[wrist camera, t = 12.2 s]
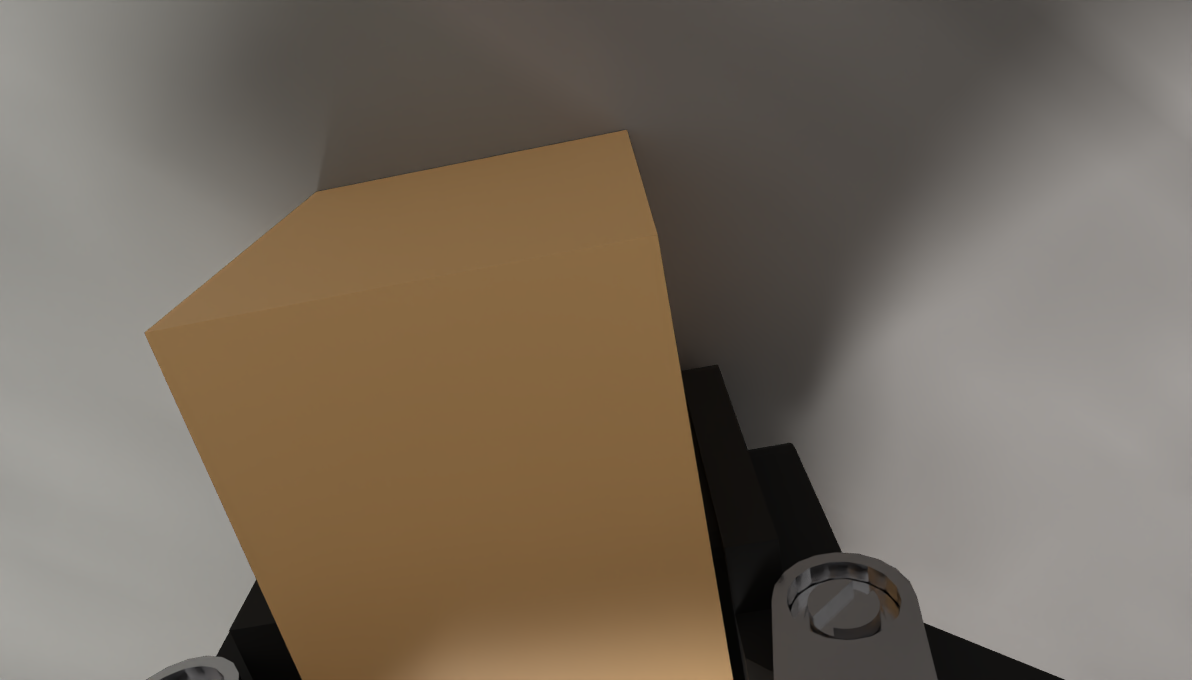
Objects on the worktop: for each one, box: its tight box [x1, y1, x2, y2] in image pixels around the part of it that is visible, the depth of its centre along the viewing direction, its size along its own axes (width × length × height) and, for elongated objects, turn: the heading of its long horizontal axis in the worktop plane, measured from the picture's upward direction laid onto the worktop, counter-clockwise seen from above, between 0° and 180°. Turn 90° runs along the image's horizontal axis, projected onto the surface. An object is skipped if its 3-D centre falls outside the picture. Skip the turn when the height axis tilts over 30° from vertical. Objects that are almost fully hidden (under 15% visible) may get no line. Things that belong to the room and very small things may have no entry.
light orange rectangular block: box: [145, 130, 733, 680], centre depth 10 cm, size 4×10×4 cm, turn 11°
